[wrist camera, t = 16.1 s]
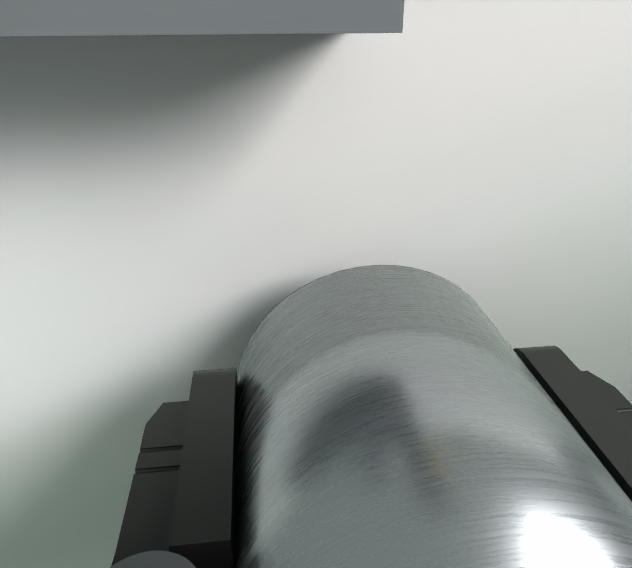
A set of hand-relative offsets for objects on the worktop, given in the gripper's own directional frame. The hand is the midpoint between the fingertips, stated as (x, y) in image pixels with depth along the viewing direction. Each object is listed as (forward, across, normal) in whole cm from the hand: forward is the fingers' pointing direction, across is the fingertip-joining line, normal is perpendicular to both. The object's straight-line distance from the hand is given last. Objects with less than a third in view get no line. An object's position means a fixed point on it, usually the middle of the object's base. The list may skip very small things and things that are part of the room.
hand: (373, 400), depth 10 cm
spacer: (0, 0, 0) cm, 0 cm away
